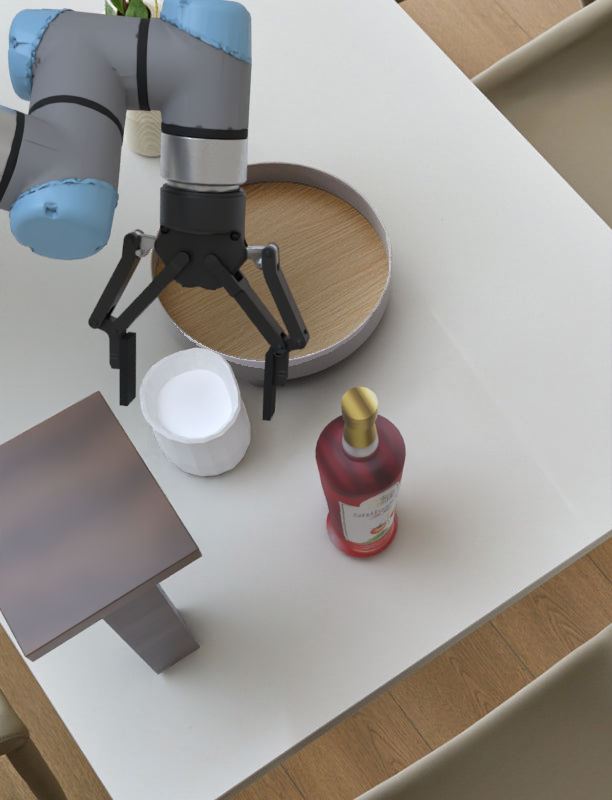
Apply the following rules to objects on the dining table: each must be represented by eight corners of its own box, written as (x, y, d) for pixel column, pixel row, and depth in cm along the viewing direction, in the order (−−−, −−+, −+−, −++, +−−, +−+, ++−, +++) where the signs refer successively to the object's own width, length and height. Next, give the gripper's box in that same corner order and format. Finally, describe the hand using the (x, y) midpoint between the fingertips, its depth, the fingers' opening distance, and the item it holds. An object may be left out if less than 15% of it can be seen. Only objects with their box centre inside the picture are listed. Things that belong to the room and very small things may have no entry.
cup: (199, 375, 106) (183, 328, 97) (275, 426, 104) (266, 383, 95) (137, 443, 102) (116, 401, 94) (215, 497, 100) (200, 460, 91)
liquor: (375, 479, 101) (377, 342, 76) (413, 540, 99) (428, 419, 73) (311, 514, 100) (291, 386, 74) (348, 577, 97) (340, 467, 72)
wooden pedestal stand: (78, 618, 95) (-69, 483, 63) (186, 551, 98) (98, 389, 66) (146, 738, 90) (25, 657, 59) (257, 664, 93) (199, 548, 62)
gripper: (347, 192, 93) (332, 408, 100) (79, 166, 94) (83, 383, 101) (338, 204, 86) (322, 436, 93) (48, 175, 87) (54, 408, 94)
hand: (198, 409), depth 97 cm, fingers open, 13 cm apart
